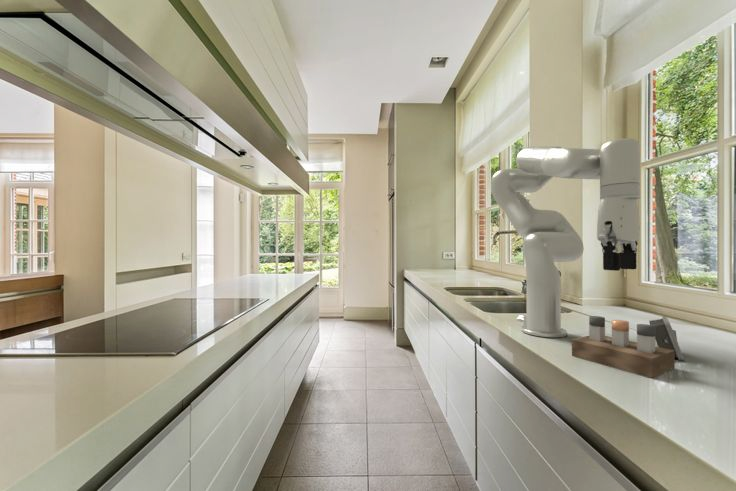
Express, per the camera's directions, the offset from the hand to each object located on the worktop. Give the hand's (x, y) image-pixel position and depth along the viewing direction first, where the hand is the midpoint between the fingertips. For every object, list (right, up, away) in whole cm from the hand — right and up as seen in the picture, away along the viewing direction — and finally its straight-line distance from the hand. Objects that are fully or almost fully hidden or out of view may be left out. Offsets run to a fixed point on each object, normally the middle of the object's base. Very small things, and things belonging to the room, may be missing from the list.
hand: (619, 269), depth 78 cm
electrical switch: (+15, -22, +5) cm, 27 cm away
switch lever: (-2, -18, +4) cm, 19 cm away
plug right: (+2, -18, -4) cm, 19 cm away
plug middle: (0, -18, 0) cm, 18 cm away
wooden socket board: (0, -22, 0) cm, 22 cm away
